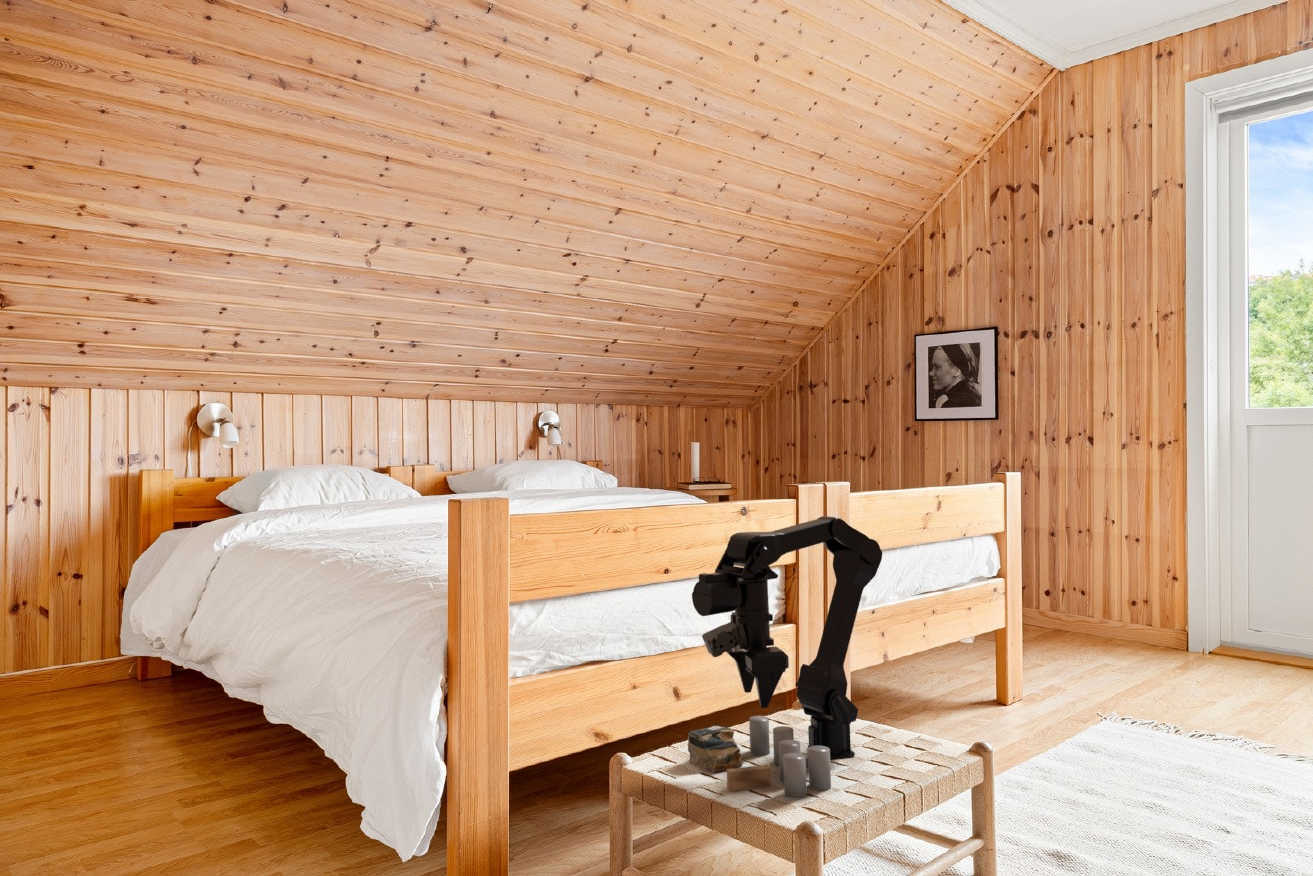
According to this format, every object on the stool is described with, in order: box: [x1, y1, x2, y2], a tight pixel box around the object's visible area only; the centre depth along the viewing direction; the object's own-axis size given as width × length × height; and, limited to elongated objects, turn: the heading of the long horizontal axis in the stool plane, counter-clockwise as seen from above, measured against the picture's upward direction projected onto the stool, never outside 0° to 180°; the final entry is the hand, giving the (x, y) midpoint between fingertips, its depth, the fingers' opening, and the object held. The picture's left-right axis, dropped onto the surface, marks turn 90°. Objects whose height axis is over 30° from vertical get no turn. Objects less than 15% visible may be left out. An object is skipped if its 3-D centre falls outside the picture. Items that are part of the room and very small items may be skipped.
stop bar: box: [726, 764, 772, 792], centre depth 145 cm, size 7×2×3 cm, turn 102°
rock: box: [687, 725, 743, 773], centre depth 157 cm, size 9×9×6 cm
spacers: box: [748, 715, 832, 800], centre depth 152 cm, size 8×24×6 cm, turn 12°
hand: (755, 699), depth 151 cm, fingers open, 9 cm apart
